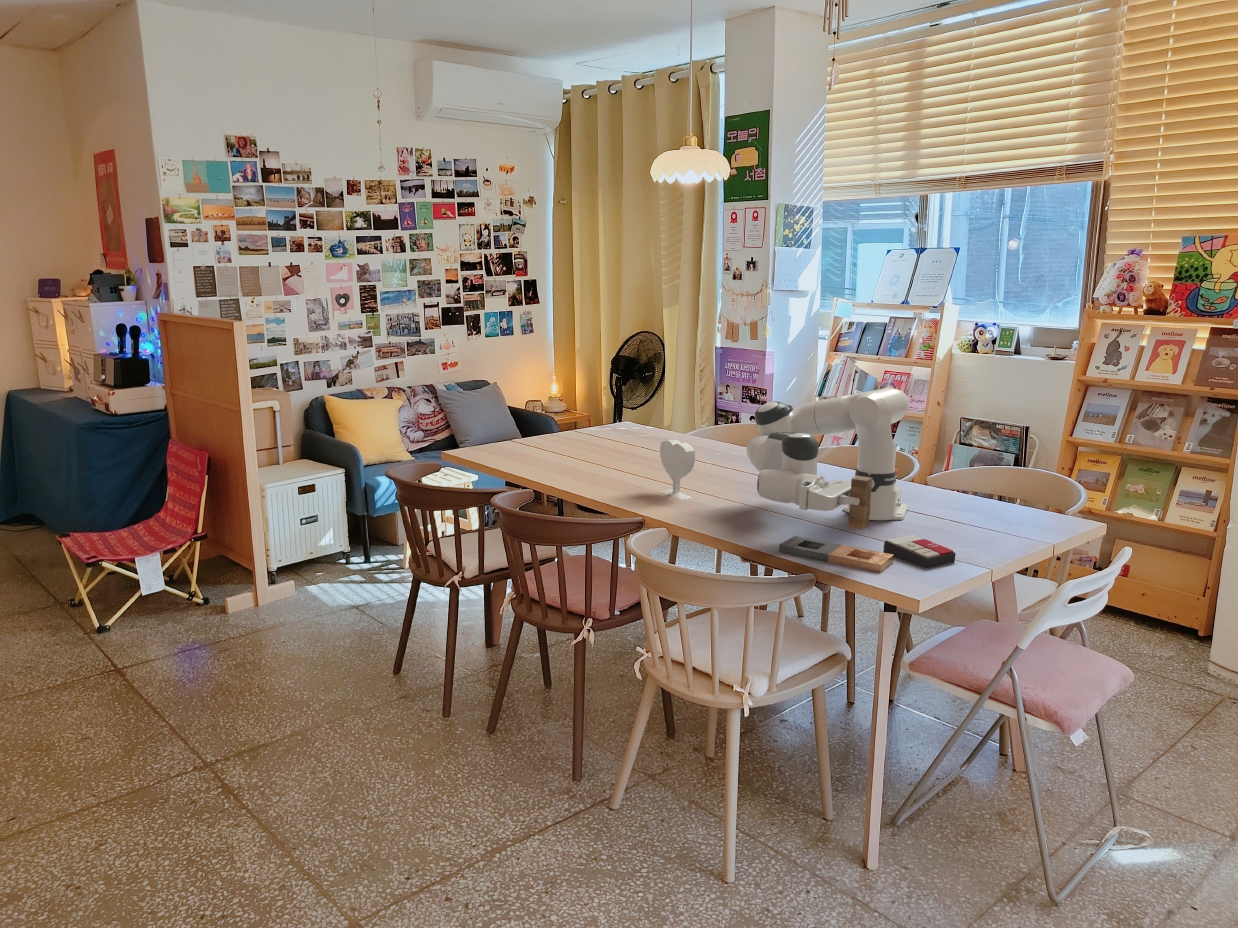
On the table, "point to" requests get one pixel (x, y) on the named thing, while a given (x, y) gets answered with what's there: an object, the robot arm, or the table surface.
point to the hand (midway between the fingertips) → (863, 499)
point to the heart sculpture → (677, 463)
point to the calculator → (919, 551)
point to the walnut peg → (862, 511)
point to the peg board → (837, 553)
